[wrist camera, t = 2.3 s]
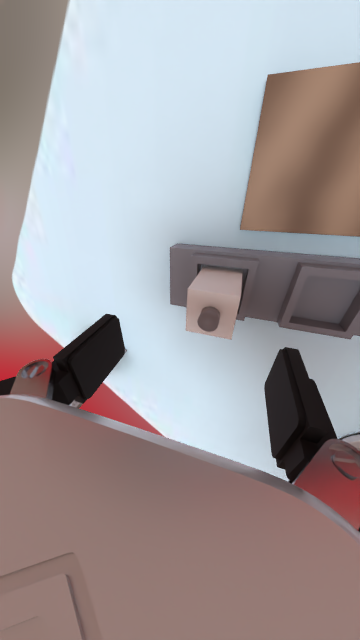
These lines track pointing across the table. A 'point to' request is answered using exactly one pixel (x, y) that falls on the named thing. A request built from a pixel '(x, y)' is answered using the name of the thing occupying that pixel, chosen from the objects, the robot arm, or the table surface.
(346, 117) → the walnut mat
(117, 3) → the table surface
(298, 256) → the power strip
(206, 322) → the plug
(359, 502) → the robot arm
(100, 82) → the table surface
